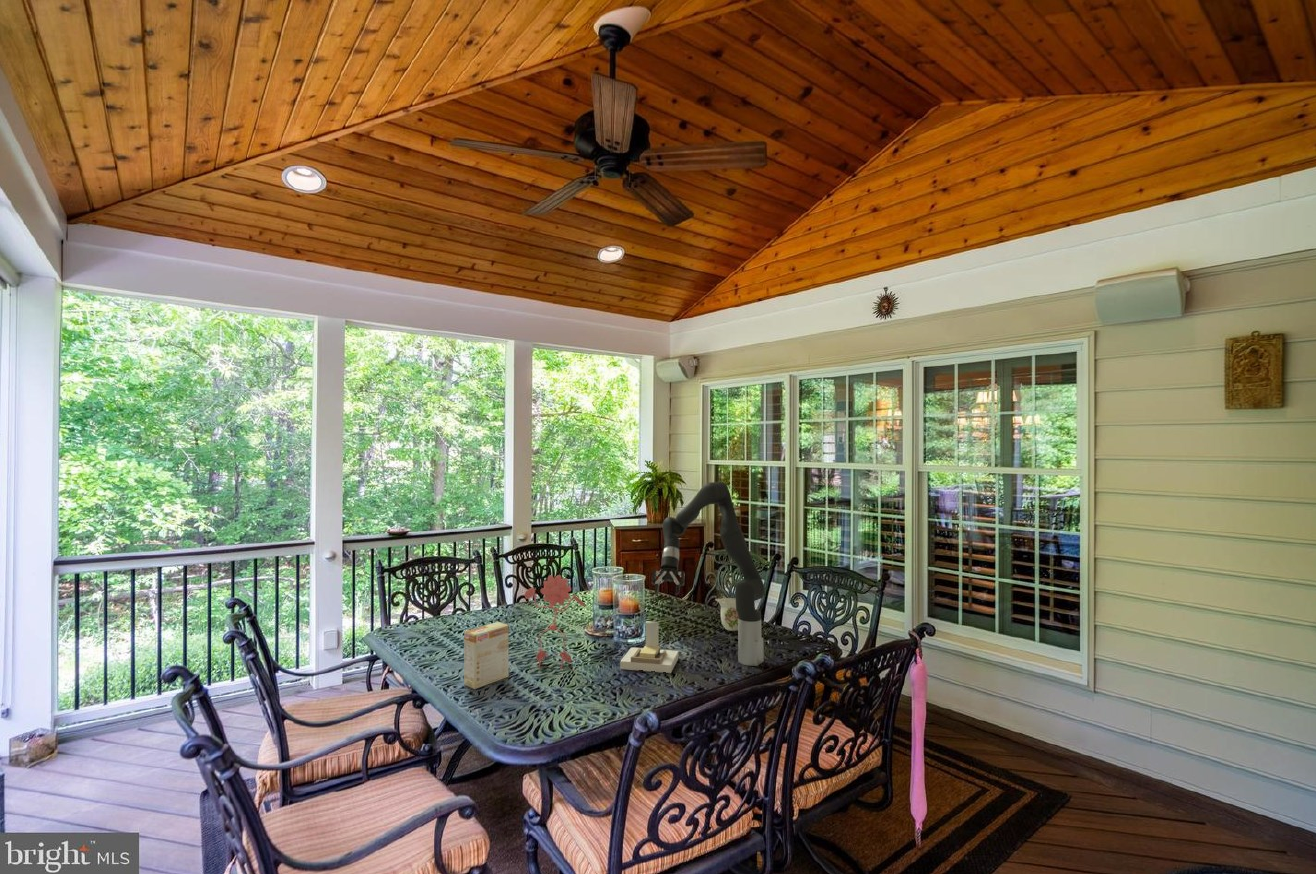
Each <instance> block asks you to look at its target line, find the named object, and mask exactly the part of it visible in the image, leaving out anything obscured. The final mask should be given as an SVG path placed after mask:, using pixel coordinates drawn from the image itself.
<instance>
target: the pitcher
mask: <svg viewBox="0 0 1316 874" xmlns="http://www.w3.org/2000/svg"><path fill="white" fill-rule="evenodd" d="M715 601H716V602H718V604H719V605H720V620H721V624H722V626H723V627H724V629H725V630H727V631H729V632H735V631H737V632H738V613H737V611H736V600H735V598H734V597H724V598H715Z"/></svg>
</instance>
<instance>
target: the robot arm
mask: <svg viewBox="0 0 1316 874" xmlns="http://www.w3.org/2000/svg"><path fill="white" fill-rule="evenodd" d="M716 504H717V507H718V508H719V511H720V515H721V522H720V530H719V536H720V539H721V544H722V545H723V548H724V550H725V552H726V553H727V555H728V556H729V557H730V558H731V560H732V561H733V562H734V563H735V564H736V565H737V567H738V568H739V570H740V571H741V574H742V576H743V578H742V579H740V580H738V581H737V583H736V585H735V588H734V595H735V600H736V611H737V613H738V630H737V634H738V635H737V640H738V641H737V643H738V644H737V648H738V649H737V650H738V651H737V653H738V654H737V657H738V658H737V659H738V663H739V664H741V665H744V666H750V667H751V666H753V667H754V666H755V667H758V666H759V665H761V664H762V663H764V660H765V658H764V637H762V611H760V610H759V609H756V605H755V603H756V601H758V600H761V599H763V598H764V596H765V593H766V587H765V584H764V582H763V580H762V579H763V578H762V577H761V576H760V573H759V571H758V569H757V566H756V565H755V562H754V560H753V558H752V555H751V553H750V549H749V548H748V545H747V542H746V538H745V535H744V533H743V531H742V528H741V525H740V523H739V520H738V517H737V515H736V511H735V509H734V508H735V507H734V504H733V499H732V496H731V493H730V490H729V487H728V485H727V484H726V483H725V482H724V481H713V482H712V481H711V482H707V483H705V484H704V485H703V486H702V487H701V488H700V489H699V491H698V492H697V494H696V495H695V496H694V497H693V498H692V500H691V501H690V502H689V503H688V504H687V505H686V506H684V507H683V509H681V510H680V511H678V512H677V514H676V518H675V517H672V516H668V517H666V518H665V519H664V520H663V522H662V533H663V538H664V542H663V543H664V544H663V549H662V550H663V551H662V555H661V556H662V557H661V562H660V563H661V564H660V570H659V571H658V570H656V569H653V570H652V574H651V580H650V581H651V585H654V593H655V594H656V595H658V594H659V588H660V586H661V585H660V584H662V583H664V582H674V583H675V593H674V594H675V596H678V595H679V594H680V589H681V587H684V586H685V578H686V576H685V575H686V574H685V571H684V570H681V571H679V562H680V545H681V540H680V538H678V537H680V536H682V535H684V534H685V532H686V529H687V528H688V527H689V526H690V524H692V523H693V522H694V521H695V520H696V519H697V518H698V517H699V515H700V513H701V510H702V509H704V508H705V507H708V506H709V505H716ZM658 575H659V576H658ZM678 576H679V577H680V581H679V580H678ZM657 577H658V579H657Z"/></svg>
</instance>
